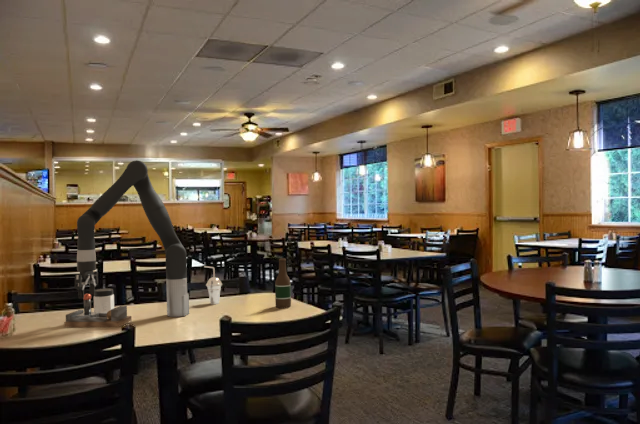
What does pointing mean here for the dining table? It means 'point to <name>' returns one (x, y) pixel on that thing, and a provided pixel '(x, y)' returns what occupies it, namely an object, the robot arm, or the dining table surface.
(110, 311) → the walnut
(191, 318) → the dining table surface
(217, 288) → the cup with straw
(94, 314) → the red ball joystick
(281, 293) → the beer bottle
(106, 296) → the jar
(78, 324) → the bench
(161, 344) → the dining table surface
